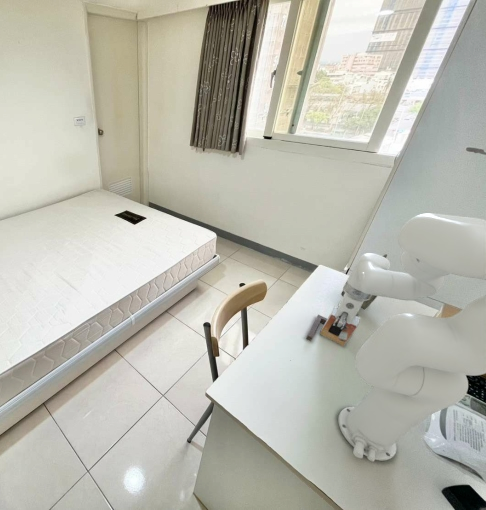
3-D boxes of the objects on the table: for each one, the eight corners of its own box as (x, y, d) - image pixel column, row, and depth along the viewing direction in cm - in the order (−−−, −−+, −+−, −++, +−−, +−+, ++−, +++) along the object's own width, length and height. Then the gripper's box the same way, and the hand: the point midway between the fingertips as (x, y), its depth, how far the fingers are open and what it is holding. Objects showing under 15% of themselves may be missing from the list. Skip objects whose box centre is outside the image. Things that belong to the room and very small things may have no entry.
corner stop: (341, 357, 91) (343, 353, 90) (305, 338, 97) (307, 335, 96) (349, 333, 99) (351, 330, 98) (316, 318, 105) (318, 314, 104)
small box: (319, 334, 99) (330, 314, 93) (323, 325, 102) (334, 305, 96) (343, 346, 95) (357, 326, 89) (347, 337, 98) (361, 317, 92)
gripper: (367, 309, 79) (343, 346, 89) (376, 281, 90) (353, 317, 100) (338, 297, 83) (318, 334, 93) (350, 272, 94) (330, 307, 104)
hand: (336, 325), depth 96 cm, fingers open, 9 cm apart
